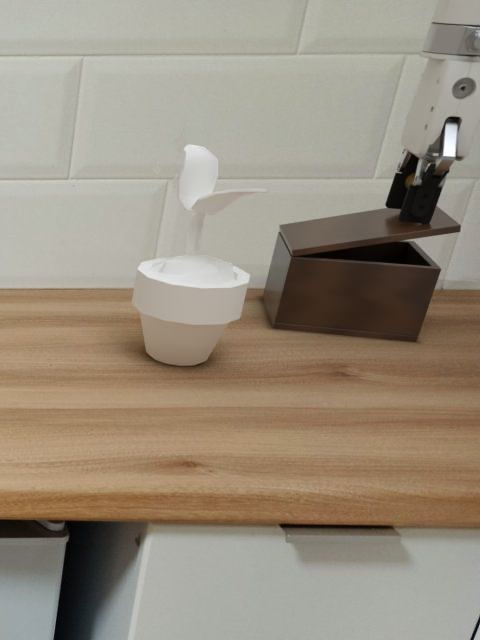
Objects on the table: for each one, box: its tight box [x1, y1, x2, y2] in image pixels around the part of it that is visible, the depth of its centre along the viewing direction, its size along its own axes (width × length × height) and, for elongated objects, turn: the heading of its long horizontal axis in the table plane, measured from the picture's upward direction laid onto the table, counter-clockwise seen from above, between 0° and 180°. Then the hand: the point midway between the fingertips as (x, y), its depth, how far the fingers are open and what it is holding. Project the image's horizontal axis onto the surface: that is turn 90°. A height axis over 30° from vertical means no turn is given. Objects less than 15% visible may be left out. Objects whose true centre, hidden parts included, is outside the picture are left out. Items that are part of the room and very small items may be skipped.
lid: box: [278, 173, 462, 256], centre depth 105 cm, size 17×13×5 cm
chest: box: [262, 231, 442, 343], centre depth 109 cm, size 16×13×9 cm
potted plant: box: [131, 123, 269, 367], centre depth 93 cm, size 13×12×25 cm
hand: (406, 213), depth 104 cm, fingers closed on lid, 6 cm apart
